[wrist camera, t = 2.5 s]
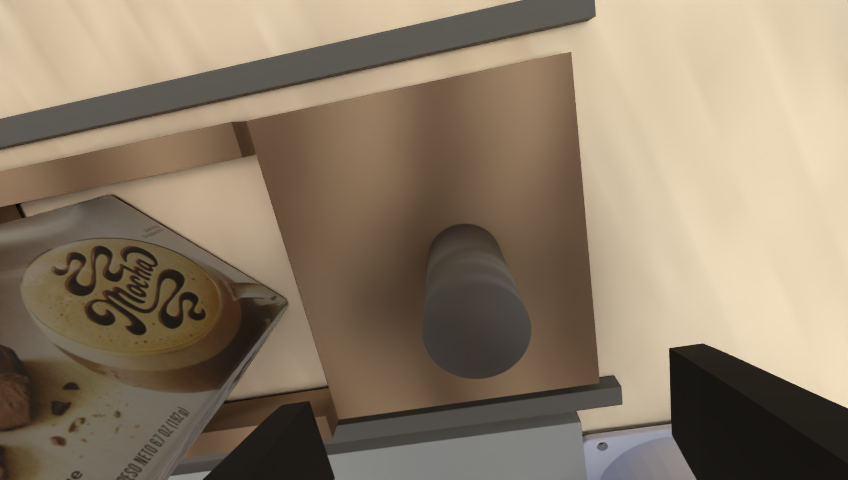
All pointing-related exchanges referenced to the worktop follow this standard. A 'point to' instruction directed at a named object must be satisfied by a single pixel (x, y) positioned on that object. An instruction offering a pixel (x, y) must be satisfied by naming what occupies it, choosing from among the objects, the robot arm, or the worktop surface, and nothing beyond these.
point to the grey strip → (455, 453)
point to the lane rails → (539, 10)
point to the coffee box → (116, 343)
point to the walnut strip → (404, 238)
